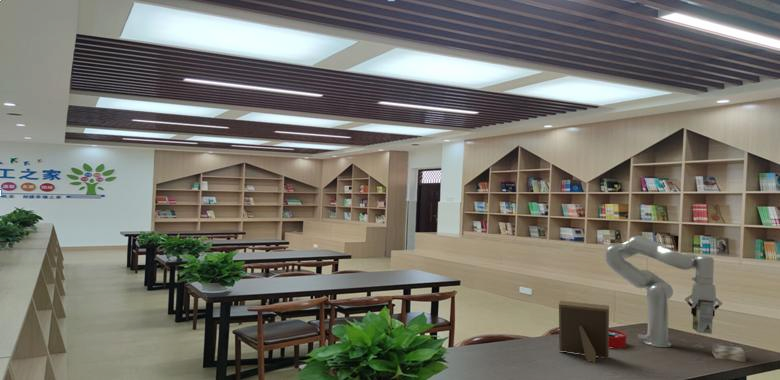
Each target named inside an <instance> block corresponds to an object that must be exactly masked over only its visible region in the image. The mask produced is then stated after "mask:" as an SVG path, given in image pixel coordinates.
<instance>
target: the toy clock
mask: <svg viewBox="0 0 780 380" xmlns="http://www.w3.org/2000/svg"><path fill="white" fill-rule="evenodd" d="M625 346H626V347H627V334H626V333H625V332H622V331H619V330H617V329H610V328H609V347H613V348H612V349H623V348H622V347H624V348H626V347H625Z"/></svg>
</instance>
